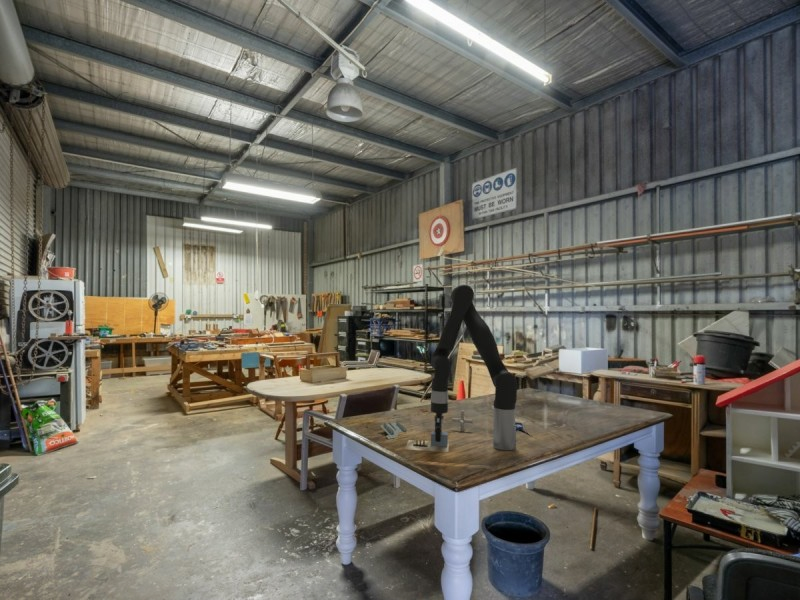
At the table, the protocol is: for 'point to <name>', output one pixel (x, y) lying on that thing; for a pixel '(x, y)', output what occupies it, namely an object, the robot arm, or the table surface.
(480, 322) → the robot arm
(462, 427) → the grey cross-shaped piece
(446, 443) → the block
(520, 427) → the bar clamp
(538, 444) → the table surface
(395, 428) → the metal bracket
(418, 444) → the board
